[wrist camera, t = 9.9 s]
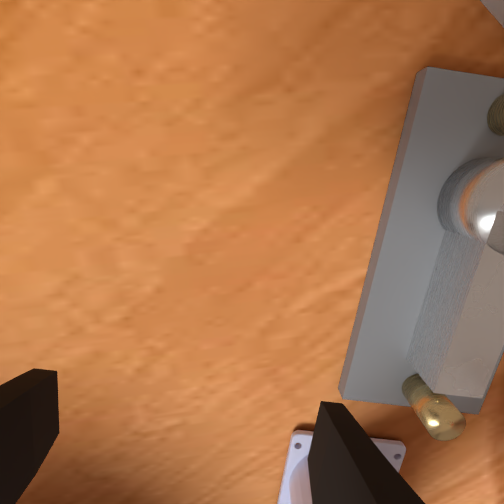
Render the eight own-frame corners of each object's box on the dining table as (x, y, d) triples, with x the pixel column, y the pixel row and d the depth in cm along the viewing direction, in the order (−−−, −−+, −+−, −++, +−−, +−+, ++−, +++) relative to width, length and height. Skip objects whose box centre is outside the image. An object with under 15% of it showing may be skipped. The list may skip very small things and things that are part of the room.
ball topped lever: (460, 364, 19) (498, 400, 16) (391, 356, 19) (416, 391, 16) (534, 163, 16) (598, 162, 13) (451, 151, 16) (497, 147, 13)
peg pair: (428, 402, 20) (459, 442, 17) (397, 398, 20) (423, 438, 17) (534, 95, 15) (602, 77, 12) (494, 89, 15) (554, 70, 12)
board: (467, 403, 21) (478, 414, 20) (338, 388, 20) (342, 398, 19) (585, 99, 16) (607, 94, 15) (416, 72, 15) (427, 66, 15)
